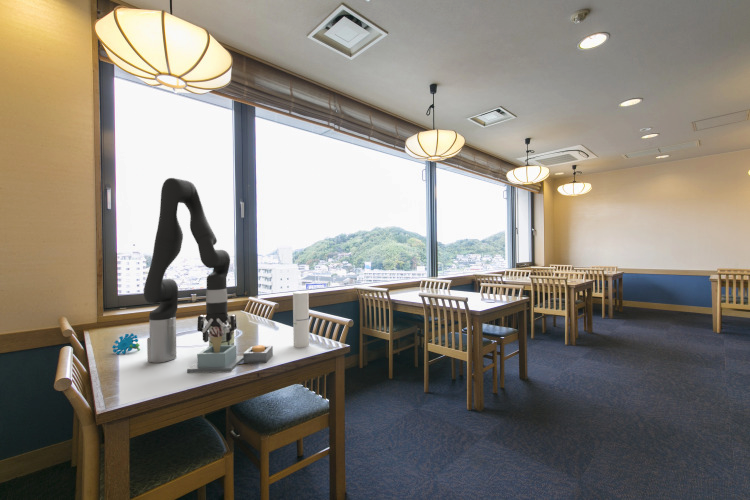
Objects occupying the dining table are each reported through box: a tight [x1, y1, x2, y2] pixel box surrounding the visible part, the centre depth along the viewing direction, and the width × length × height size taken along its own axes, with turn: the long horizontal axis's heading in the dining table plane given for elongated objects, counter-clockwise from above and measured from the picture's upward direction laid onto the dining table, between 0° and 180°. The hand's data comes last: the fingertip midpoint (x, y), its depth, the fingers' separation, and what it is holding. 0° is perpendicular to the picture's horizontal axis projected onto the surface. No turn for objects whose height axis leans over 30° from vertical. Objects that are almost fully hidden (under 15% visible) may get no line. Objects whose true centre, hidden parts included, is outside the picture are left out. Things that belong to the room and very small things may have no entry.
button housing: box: [242, 345, 274, 364], centre depth 133 cm, size 9×9×4 cm
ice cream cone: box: [208, 326, 225, 353], centre depth 127 cm, size 6×6×15 cm
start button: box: [252, 344, 266, 352], centre depth 133 cm, size 5×5×3 cm
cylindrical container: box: [292, 290, 310, 349], centre depth 151 cm, size 7×7×25 cm
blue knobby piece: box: [111, 332, 141, 355], centre depth 145 cm, size 11×6×10 cm
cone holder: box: [186, 344, 244, 373], centre depth 127 cm, size 16×14×6 cm
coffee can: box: [208, 319, 235, 347], centre depth 141 cm, size 10×10×14 cm
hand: (217, 341), depth 127 cm, fingers open, 8 cm apart
